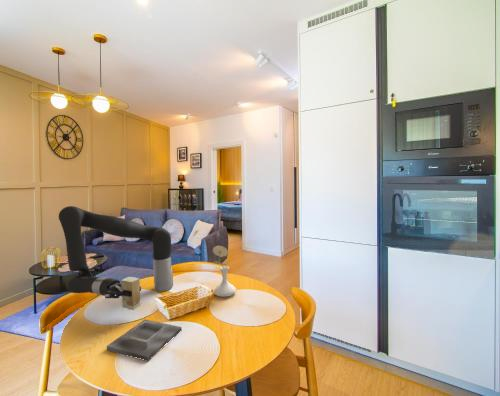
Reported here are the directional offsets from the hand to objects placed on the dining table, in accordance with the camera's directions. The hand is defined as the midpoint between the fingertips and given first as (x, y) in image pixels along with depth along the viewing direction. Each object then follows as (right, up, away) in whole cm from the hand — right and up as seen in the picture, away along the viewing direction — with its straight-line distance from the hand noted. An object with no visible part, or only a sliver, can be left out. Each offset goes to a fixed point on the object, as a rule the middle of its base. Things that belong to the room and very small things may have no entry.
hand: (135, 291), depth 107 cm
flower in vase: (+35, -10, +24) cm, 43 cm away
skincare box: (-2, -7, +1) cm, 8 cm away
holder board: (+10, -13, -14) cm, 21 cm away
